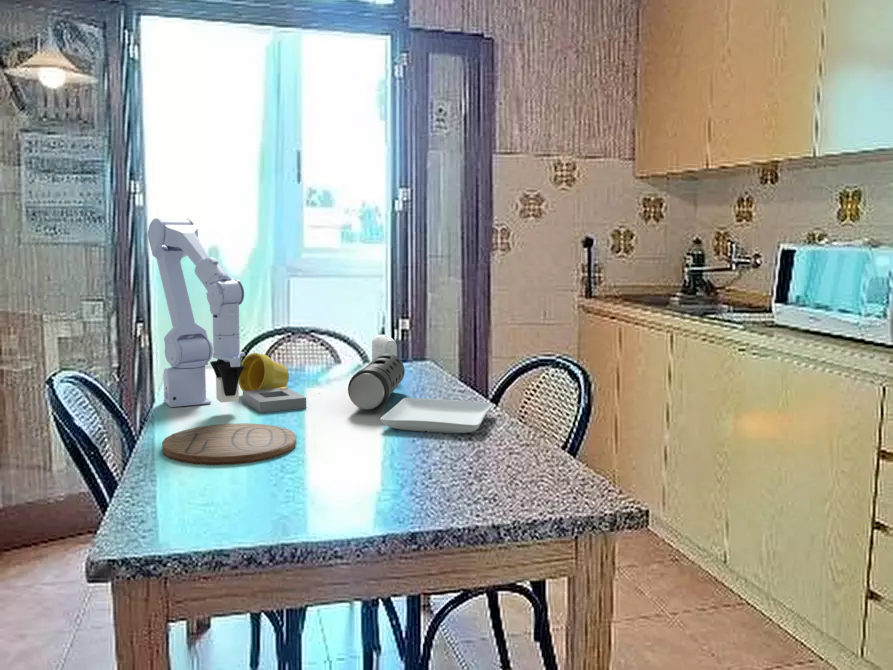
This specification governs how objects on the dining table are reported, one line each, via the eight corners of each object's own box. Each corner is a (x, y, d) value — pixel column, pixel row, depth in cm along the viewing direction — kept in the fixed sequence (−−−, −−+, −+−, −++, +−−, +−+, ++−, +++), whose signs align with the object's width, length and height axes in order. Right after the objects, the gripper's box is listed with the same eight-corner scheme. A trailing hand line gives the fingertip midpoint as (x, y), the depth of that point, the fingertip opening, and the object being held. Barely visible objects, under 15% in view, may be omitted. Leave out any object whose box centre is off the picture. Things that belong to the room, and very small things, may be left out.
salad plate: (479, 439, 168) (479, 423, 167) (378, 433, 172) (378, 417, 171) (493, 416, 188) (494, 401, 188) (403, 411, 193) (403, 397, 192)
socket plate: (260, 412, 188) (260, 401, 187) (242, 401, 200) (242, 390, 200) (306, 408, 193) (306, 396, 193) (286, 397, 205) (286, 386, 205)
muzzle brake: (405, 392, 214) (405, 352, 212) (387, 417, 186) (387, 371, 185) (369, 391, 214) (369, 352, 213) (345, 415, 187) (345, 370, 185)
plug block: (221, 402, 184) (220, 379, 183) (216, 399, 188) (216, 376, 187) (238, 400, 186) (238, 378, 185) (234, 397, 190) (233, 375, 189)
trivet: (157, 471, 144) (157, 460, 144) (166, 435, 168) (165, 426, 168) (302, 462, 151) (302, 451, 150) (290, 429, 175) (290, 420, 174)
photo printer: (398, 381, 228) (399, 336, 227) (384, 382, 226) (384, 337, 225) (383, 375, 237) (383, 332, 236) (369, 376, 235) (369, 333, 234)
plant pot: (299, 385, 208) (269, 380, 200) (273, 405, 212) (243, 401, 205) (288, 350, 213) (258, 344, 205) (262, 371, 217) (233, 366, 209)
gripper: (253, 337, 181) (254, 398, 182) (235, 329, 193) (236, 386, 195) (221, 339, 177) (222, 401, 179) (204, 330, 190) (206, 388, 191)
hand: (227, 393), depth 187 cm, fingers closed on plug block, 4 cm apart
